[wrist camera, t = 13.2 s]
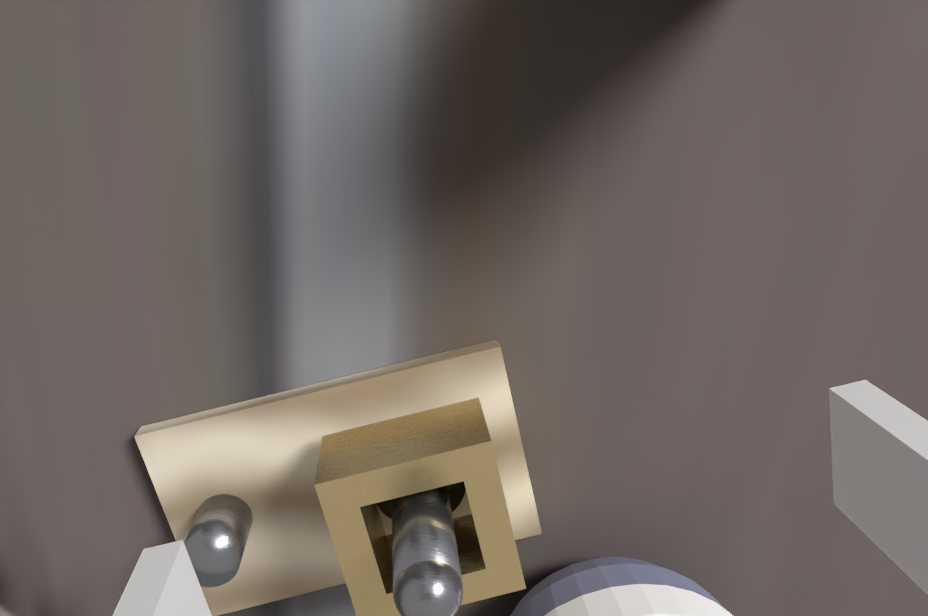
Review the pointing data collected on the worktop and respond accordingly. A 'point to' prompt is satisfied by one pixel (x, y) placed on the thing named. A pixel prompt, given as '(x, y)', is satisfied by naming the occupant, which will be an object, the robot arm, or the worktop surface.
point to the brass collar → (408, 472)
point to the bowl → (617, 592)
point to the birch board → (296, 459)
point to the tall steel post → (426, 551)
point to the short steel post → (218, 539)
